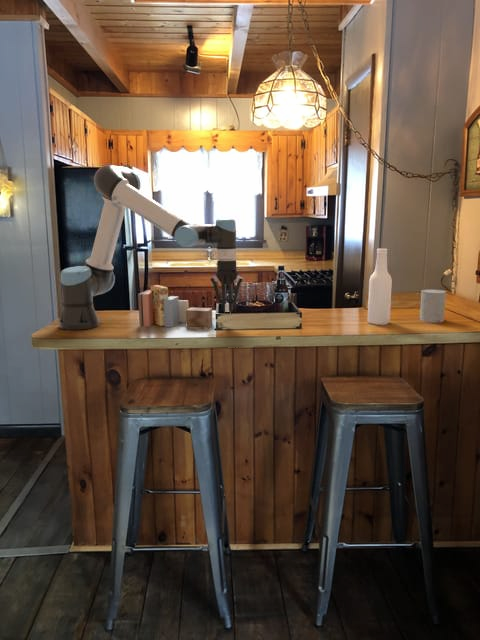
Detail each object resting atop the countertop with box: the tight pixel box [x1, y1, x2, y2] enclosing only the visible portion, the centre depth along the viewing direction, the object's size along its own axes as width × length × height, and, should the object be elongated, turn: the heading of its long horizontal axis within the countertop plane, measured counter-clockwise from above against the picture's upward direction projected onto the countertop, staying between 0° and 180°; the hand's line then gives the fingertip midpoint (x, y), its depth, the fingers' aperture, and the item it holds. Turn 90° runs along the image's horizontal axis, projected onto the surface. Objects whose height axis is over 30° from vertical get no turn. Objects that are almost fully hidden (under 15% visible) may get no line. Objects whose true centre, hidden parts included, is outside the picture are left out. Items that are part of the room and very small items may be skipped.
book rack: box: [137, 289, 189, 327], centre depth 208 cm, size 17×12×13 cm
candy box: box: [149, 284, 169, 327], centre depth 207 cm, size 9×4×15 cm, turn 33°
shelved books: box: [142, 291, 180, 328], centre depth 208 cm, size 12×9×13 cm
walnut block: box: [185, 306, 213, 329], centre depth 205 cm, size 9×6×7 cm, turn 79°
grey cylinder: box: [418, 288, 447, 324], centre depth 213 cm, size 10×10×12 cm
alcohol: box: [366, 247, 393, 326], centre depth 206 cm, size 9×9×30 cm
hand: (227, 319), depth 203 cm, fingers closed
